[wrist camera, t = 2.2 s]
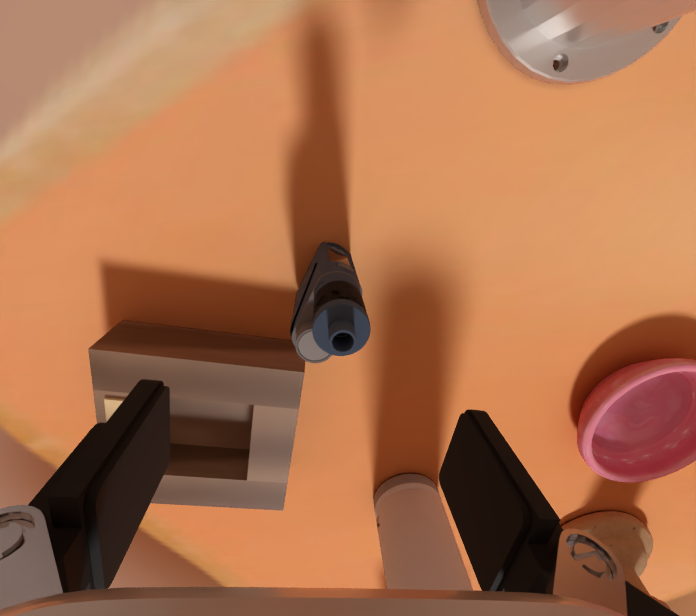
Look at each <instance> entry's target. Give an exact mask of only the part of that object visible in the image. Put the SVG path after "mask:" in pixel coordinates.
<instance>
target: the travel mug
mask: <svg viewBox="0 0 696 616" xmlns="http://www.w3.org/2000/svg"><path fill="white" fill-rule="evenodd" d="M374 508H375V515H376V521H377V528H378V534H379V541H380V547H381V554H382V560H383V567H384V573H385V580H386V586H387V589H416V590H467V591H473V588H472V585H471V583H470V580H469V577H468V574H467V571H466V568H465V566H464V563H463V560H462V557H461V554H460V551H459V549H458V546H457V543H456V540H455V537H454V534H453V531H452V529H451V526H450V523H449V520H448V517H447V514H446V512H445V509H444V506H443V503H442V501H441V497H440V494H439V492H438V489H437V487H436V485H435V484H434V482H433V481H432V480H430V479H429V478H427V477H425V476H422V475H418V474H402V475H398V476H395V477H392V478H390V479H389V480H387V481H385V482H384V483H383V484H382V485H381V486H380V487H379V488H378V489H377V491H376V493H375V496H374Z"/></svg>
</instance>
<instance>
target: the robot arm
mask: <svg viewBox="0 0 696 616" xmlns="http://www.w3.org/2000/svg"><path fill="white" fill-rule="evenodd" d="M478 4H479V9H480V13H481V15H482V18H483V20H484V23H485V26H486V28H487V31H488V33H489V35H490V37H491V38H492V40H493V41H494V43H495V45H496V46H497V48H498V49H499V51H500V52H501V54H502V55H503V56H504V57H505V58H506V59H507V60H508V61H509V62H510V63H511V64H512V65H513V66H514V67H515V68H517V69H518V70H520V71H522V72H523V73H525V74H526V75H528V76H530V77H531V78H534V79H537V80H540V81H543V82H547V83H550V84H565V85H571V84H577V83H583V82H589V81H592V80H596V79H599V78H602V77H605V76H609V75H611V74H613V73H615V72H617V71H619V70H621V69H623V68H625V67H627V66H629V65H631V64H633V63H634V62H635V61H637V60H638V59H640V58H641V57H642V56H644V55H645V54H646V53H648V52H649V51H651V50H652V49H653V48H654V47H655V46H656V45H657V44H658V43H659V42H660V41H661V40H662V39H663V38H665V37H666V36H667V35H668V33H669V32H670V31H671V30H672V29H673V27H674V26H675V25H676V24H677V22H678V21H679V20H680V18H681V17H682V16H683V15H685V14H688V13H690V12H693V11H695V10H696V0H478ZM553 63H554V65H555V67H554V68H553ZM169 460H170V388H169V387H168V386H164V383H163V381H159V380H148V379H141V380H140V381H139V382H138V383H137V384H136V386H135V387H134V388H133V389H132V391H131V392H130V393H129V394H128V396H127V397H126V398H125V399H124V401H123V402H122V403H121V404H120V406H119V407H118V408H117V409H116V411H115V412H114V413H113V414H112V416H111V417H110V418H109V419H108V421H107V422H106V423H103V422H100V423H98V424H96V425H95V426H94V427H93V428H92V429H91V430H90V431H89V433H88V434H87V435H86V436H85V437H84V439H83V440H82V441H81V442H80V443H79V445H78V446H77V447H76V448H75V449H74V451H73V452H72V453H71V454H70V455H69V457H68V458H67V459H66V460H65V461H64V463H63V464H62V465H61V466H60V467H59V469H58V470H57V471H56V472H55V473H54V475H53V476H52V477H51V478H50V479H49V481H48V482H47V483H46V484H45V485H44V487H43V488H42V489H41V490H40V492H39V493H38V494H37V495H36V496H35V497H34V499H33V500H32V501H31V502H30V503H29V505H28V506H27V505H17V506H10V507H6V508H2V509H0V616H679V615H677V614H676V613H674V612H673V611H671V610H669V609H668V608H666V607H665V606H663V605H662V604H660V603H659V602H657V601H656V600H654V599H653V598H651V597H650V596H648V595H647V594H645V593H644V592H642V591H641V590H639V589H638V588H636V587H635V586H633V585H632V584H630V583H629V582H627V581H625V575H624V571H623V568H622V566H621V564H620V562H619V560H618V559H617V557H616V556H615V555H614V554H613V553H612V551H611V550H610V549H609V548H608V547H607V546H605V545H604V544H603V543H602V542H601V541H600V540H598V539H597V538H595V537H594V536H592V535H590V534H588V533H586V532H584V531H582V530H578V529H566V530H563V529H562V527H561V526H560V524H559V521H560V519H559V517H558V516H557V514H556V513H555V511H554V510H553V508H552V507H551V506H550V504H549V503H548V501H547V500H546V498H545V497H544V495H543V494H542V492H541V491H540V490H539V488H538V487H537V485H536V484H535V482H534V481H533V479H532V478H531V476H530V475H529V474H528V472H527V471H526V469H525V468H524V466H523V465H522V463H521V462H520V460H519V459H518V458H517V456H516V455H515V453H514V452H513V450H512V449H511V447H510V446H509V444H508V443H507V442H506V440H505V439H504V437H503V436H502V434H501V433H500V431H499V430H498V428H497V427H496V426H495V424H494V423H493V421H492V420H491V418H490V417H489V415H488V414H487V413H486V412H485V411H479V410H466V411H465V413H463V414H461V415H460V417H459V420H458V422H457V425H456V428H455V431H454V434H453V436H452V439H451V442H450V445H449V448H448V450H447V453H446V456H445V459H444V462H443V464H442V467H441V470H440V473H439V481H440V485H441V488H442V490H443V493H444V495H445V498H446V500H447V503H448V506H449V508H450V511H451V513H452V516H453V518H454V521H455V523H456V526H457V529H458V531H459V534H460V536H461V539H462V541H463V544H464V546H465V549H466V552H467V554H468V557H469V559H470V562H471V564H472V567H473V569H474V572H475V575H476V577H477V580H478V582H479V585H480V587H481V589H482V591H467V590H416V589H353V588H264V587H150V588H149V587H148V588H146V587H145V588H144V587H143V588H111V589H107V588H109V586H110V585H111V583H112V581H113V579H114V577H115V575H116V573H117V571H118V569H119V567H120V565H121V563H122V561H123V558H124V556H125V554H126V552H127V550H128V548H129V546H130V544H131V542H132V540H133V538H134V535H135V534H136V531H137V529H138V527H139V525H140V523H141V521H142V519H143V517H144V515H145V513H146V511H147V509H148V506H149V504H150V502H151V500H152V498H153V496H154V494H155V492H156V490H157V488H158V486H159V484H160V482H161V479H162V477H163V475H164V473H165V471H166V469H167V467H168V464H169Z"/></svg>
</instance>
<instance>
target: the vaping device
mask: <svg viewBox="0 0 696 616" xmlns="http://www.w3.org/2000/svg"><path fill="white" fill-rule="evenodd" d="M362 306H363V307H362ZM290 333H291V338H292V342H293V344H294V346H295V348H296V351H297V354H298V355H299V356H300V357H301V358H302V359H303V360H305V361H307V362H310V363H320V362H323V361H326V360H327V359H329V358H330V357H331V356H332V355H336V356H345V355H350V354H353V353H355V352H357V351H358V350H360V349H361V348H362V347H363V346H364V345H365V344H366V342H367V341H368V338H369V335H370V322H369V319H368V316H367V313H366V309H365V305H364V302H363V299H362V288H361V286H360V283H359V280H358V277H357V274H356V271H355V267H354V264H353V261H352V258H351V254H348V252H347V251H346V250H345V249H344V248H343V247H341V246H339V245H337V244H334V243H325V242H323V243H321V245H320V246H319V247H318V249H317V252H316V254H315V256H314V258H313V260H312V262H311V264H310V266H309V268H308V270H307V273H306V275H305V277H304V279H303V281H302V283H301V285H300V288H299V289H298V291H297V294H296V299H295V305H294V311H293V317H292V323H291V329H290Z"/></svg>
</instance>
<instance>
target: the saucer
mask: <svg viewBox="0 0 696 616" xmlns="http://www.w3.org/2000/svg"><path fill="white" fill-rule="evenodd" d="M577 444H578V449H579V452H580V454H581V456H582V458H583V459H584V461H585V462H586V463H587V464H588V466H589V467H590V468H591V469H592V470H593V471H594V472H596V473H597V474H599V475H600V476H602V477H605V478H607V479H610V480H614V481H619V482H641V481H648V480H652V479H656V478H660V477H663V476H666V475H668V474H671V473H673V472H676V471H678V470H680V469H682V468H684V467H686V466H687V465H689V464H691V463H692V462H694V461H695V460H696V360H693V359H687V358H670V359H657V360H652V361H645V362H639V363H635V364H631V365H628V366H626V367H623V368H621V369H619V370H617V371H615V372H614V373H612V374H610V375H609V376H607V377H606V378H604V379H603V380H602V381H601V382H600V383H599V384H598V385H597V386H596V387H595V388H594V389H593V390H592V391H591V392H590V393H589V395H588V396H587V398H586V400H585V402H584V404H583V406H582V409H581V413H580V418H579V422H578V429H577Z"/></svg>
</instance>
